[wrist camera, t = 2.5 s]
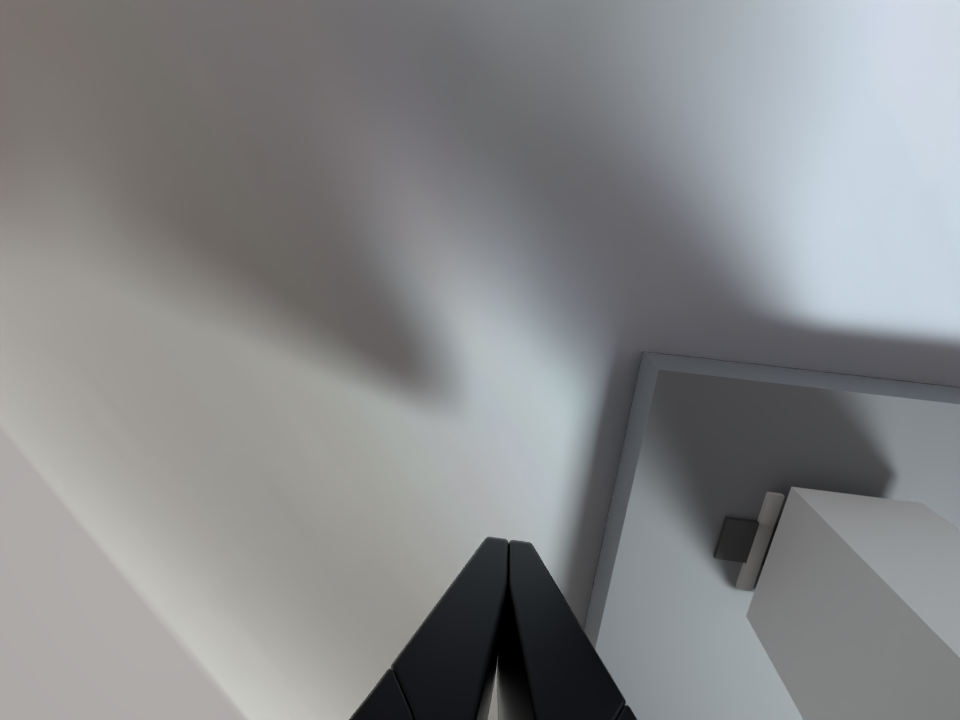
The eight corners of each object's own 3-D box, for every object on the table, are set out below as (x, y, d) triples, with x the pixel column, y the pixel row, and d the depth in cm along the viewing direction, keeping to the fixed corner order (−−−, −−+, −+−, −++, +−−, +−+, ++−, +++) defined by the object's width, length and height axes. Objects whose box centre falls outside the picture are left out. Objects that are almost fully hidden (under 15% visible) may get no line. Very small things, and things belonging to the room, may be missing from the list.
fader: (864, 635, 10) (1277, 1144, 4) (743, 617, 10) (1000, 1089, 5) (925, 501, 9) (1558, 953, 3) (789, 483, 9) (1194, 893, 4)
